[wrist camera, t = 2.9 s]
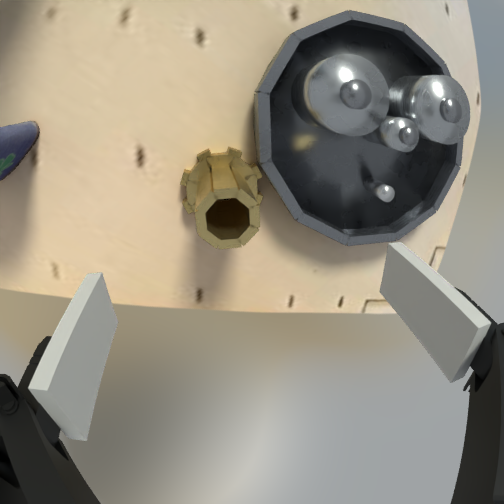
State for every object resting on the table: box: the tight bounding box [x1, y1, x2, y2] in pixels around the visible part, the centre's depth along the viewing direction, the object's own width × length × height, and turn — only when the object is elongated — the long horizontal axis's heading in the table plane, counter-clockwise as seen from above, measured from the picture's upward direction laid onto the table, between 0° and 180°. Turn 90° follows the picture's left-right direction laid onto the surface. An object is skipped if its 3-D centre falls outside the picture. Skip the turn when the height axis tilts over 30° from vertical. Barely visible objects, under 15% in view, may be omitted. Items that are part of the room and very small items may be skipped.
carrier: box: [253, 10, 470, 246], centre depth 25 cm, size 24×24×8 cm
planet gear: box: [180, 147, 263, 249], centre depth 25 cm, size 8×8×10 cm
